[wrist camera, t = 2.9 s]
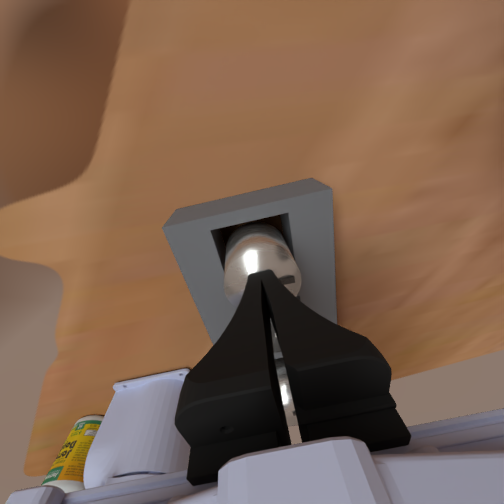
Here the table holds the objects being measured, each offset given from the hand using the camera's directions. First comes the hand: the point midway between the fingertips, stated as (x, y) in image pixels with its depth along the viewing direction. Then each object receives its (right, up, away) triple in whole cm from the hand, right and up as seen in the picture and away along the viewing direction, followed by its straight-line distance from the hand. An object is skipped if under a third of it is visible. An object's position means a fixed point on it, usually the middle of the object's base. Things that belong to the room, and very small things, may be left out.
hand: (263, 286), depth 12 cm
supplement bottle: (-22, -22, +19) cm, 36 cm away
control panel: (+1, -2, +10) cm, 10 cm away
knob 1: (0, +2, +4) cm, 4 cm away
